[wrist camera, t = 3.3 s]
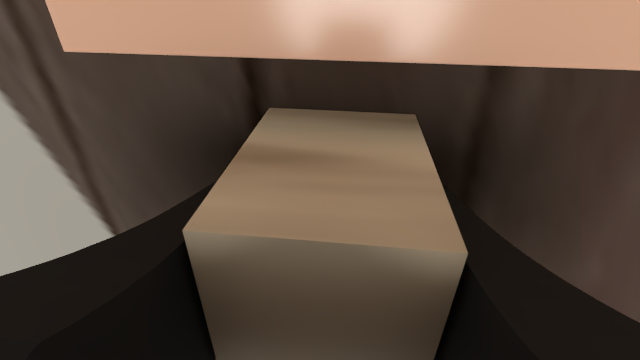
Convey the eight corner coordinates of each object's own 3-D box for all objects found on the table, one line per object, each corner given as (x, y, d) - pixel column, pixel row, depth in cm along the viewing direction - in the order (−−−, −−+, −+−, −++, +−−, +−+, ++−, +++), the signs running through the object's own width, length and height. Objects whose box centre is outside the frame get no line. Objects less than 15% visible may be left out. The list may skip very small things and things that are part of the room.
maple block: (396, 229, 12) (419, 404, 7) (277, 220, 13) (221, 380, 8) (415, 114, 10) (467, 253, 5) (269, 107, 11) (182, 230, 5)
